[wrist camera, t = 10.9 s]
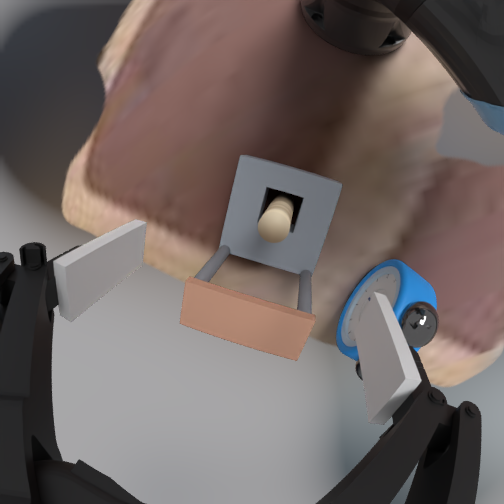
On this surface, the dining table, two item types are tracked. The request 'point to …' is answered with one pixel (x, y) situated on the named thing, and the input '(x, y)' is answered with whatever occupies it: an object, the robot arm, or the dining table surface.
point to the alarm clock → (401, 300)
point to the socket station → (264, 260)
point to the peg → (277, 219)
